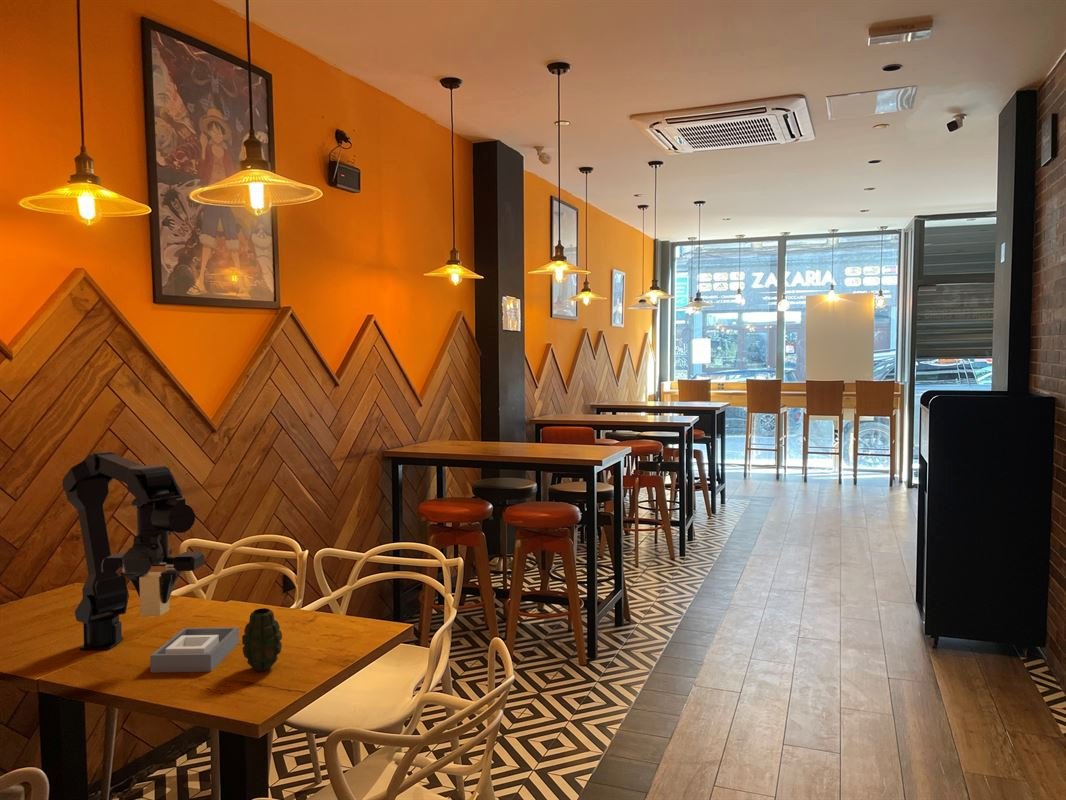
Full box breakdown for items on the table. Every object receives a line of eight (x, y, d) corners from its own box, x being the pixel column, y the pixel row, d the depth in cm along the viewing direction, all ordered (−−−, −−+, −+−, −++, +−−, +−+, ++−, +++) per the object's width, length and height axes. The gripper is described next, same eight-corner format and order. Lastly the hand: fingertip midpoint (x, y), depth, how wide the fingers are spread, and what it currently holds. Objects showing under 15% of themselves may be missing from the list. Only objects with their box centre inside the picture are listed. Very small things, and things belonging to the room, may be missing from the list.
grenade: (251, 661, 157) (250, 604, 156) (288, 661, 157) (287, 604, 156) (235, 676, 149) (234, 616, 149) (274, 676, 149) (273, 617, 148)
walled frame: (150, 672, 151) (150, 653, 151) (184, 643, 167) (184, 625, 167) (211, 671, 152) (210, 652, 151) (239, 642, 167) (238, 625, 167)
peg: (140, 616, 153) (139, 577, 153) (150, 610, 157) (149, 572, 157) (160, 615, 153) (159, 577, 153) (169, 609, 157) (168, 571, 157)
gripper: (84, 537, 146) (87, 616, 147) (180, 535, 146) (183, 614, 147) (115, 525, 157) (117, 599, 158) (204, 524, 158) (206, 597, 158)
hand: (155, 603), depth 155 cm, fingers closed on peg, 4 cm apart
